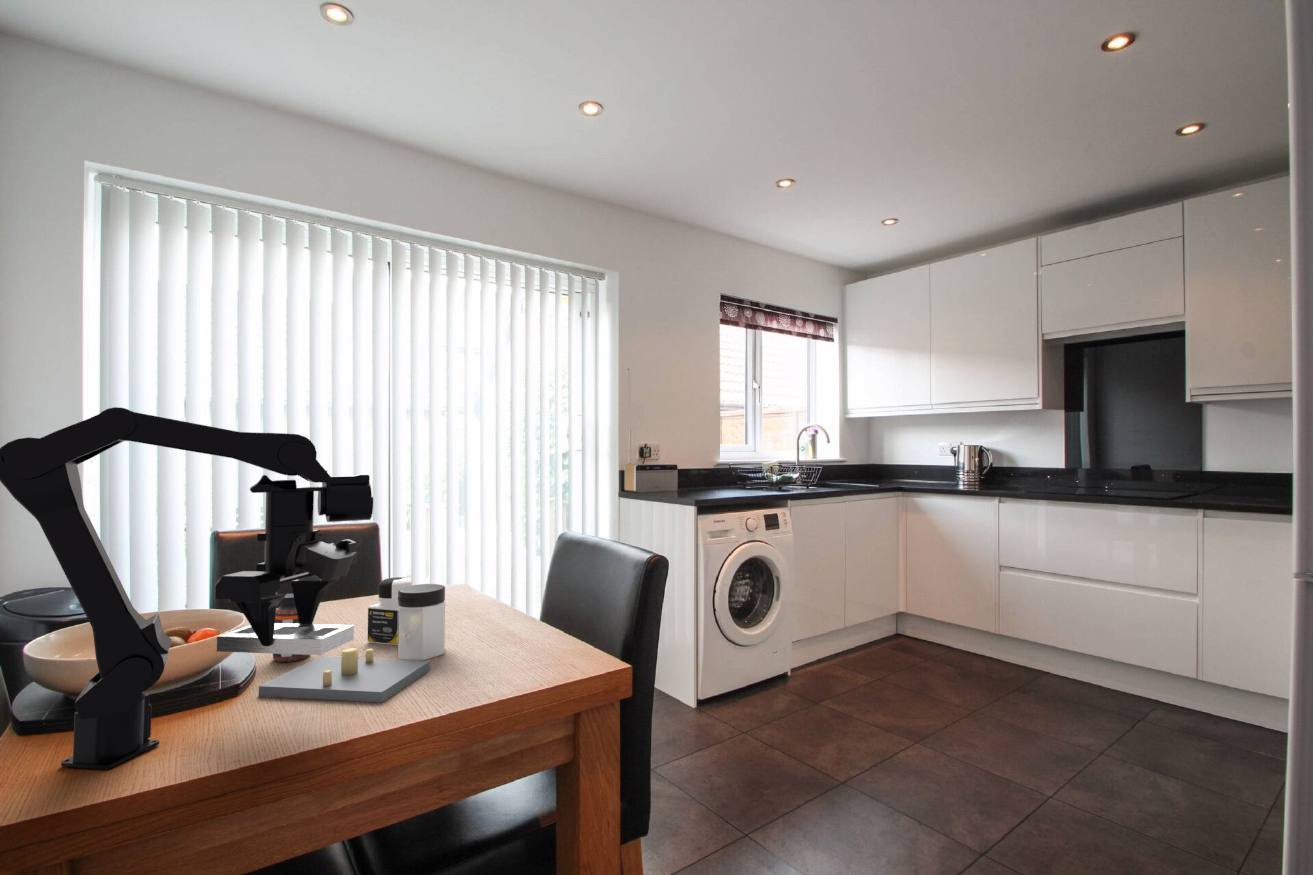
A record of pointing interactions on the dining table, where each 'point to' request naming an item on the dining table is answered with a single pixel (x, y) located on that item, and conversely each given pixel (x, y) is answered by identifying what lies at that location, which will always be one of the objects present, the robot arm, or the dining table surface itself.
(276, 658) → the supplement bottle
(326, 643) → the white slotted frame
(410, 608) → the jar
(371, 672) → the post base
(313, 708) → the dining table surface
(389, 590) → the medicine bottle
